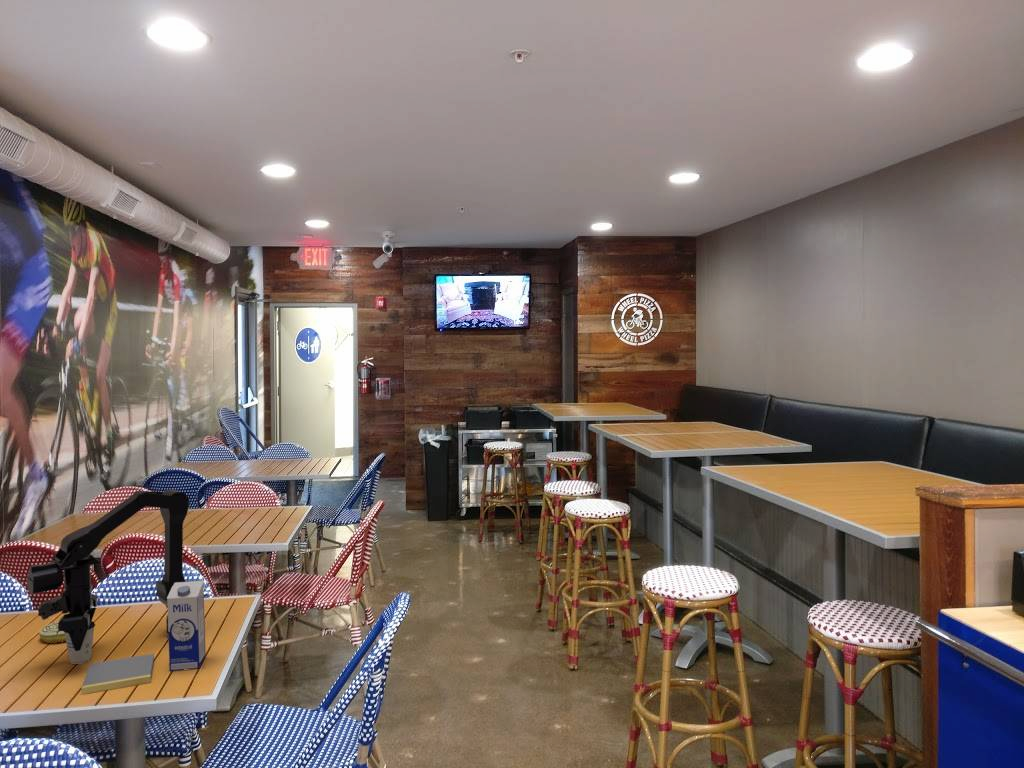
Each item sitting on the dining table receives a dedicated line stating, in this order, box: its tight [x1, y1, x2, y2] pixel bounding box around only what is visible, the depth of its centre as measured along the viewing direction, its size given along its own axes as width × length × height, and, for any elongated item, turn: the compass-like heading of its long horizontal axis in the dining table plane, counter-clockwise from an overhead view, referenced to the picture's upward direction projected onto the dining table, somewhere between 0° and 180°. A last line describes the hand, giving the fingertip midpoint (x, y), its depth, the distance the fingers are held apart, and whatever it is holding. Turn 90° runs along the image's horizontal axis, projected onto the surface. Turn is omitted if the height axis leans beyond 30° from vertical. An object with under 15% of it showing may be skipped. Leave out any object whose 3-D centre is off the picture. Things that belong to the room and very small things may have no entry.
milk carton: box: [167, 580, 206, 672], centre depth 176 cm, size 7×7×20 cm
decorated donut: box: [38, 621, 66, 644], centre depth 195 cm, size 10×11×4 cm
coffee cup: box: [63, 620, 96, 665], centre depth 179 cm, size 7×7×10 cm
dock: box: [81, 653, 155, 695], centre depth 171 cm, size 14×14×2 cm
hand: (80, 645), depth 179 cm, fingers closed on coffee cup, 7 cm apart
